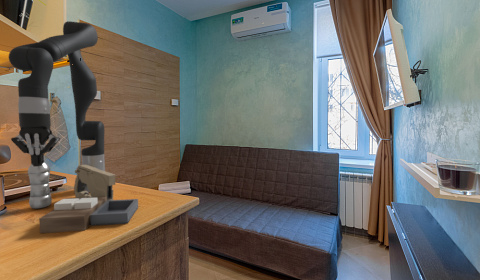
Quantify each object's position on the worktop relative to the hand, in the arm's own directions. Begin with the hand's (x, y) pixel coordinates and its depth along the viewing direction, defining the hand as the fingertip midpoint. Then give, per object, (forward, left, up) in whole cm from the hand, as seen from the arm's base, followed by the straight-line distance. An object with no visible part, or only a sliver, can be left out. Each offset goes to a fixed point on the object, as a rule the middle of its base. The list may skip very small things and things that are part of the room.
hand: (37, 166), depth 75 cm
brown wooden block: (0, +11, -19) cm, 22 cm away
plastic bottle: (-14, -8, -19) cm, 25 cm away
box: (-1, +23, -19) cm, 30 cm away
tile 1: (0, +8, -14) cm, 16 cm away
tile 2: (0, +14, -14) cm, 20 cm away
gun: (-18, +9, -19) cm, 28 cm away
